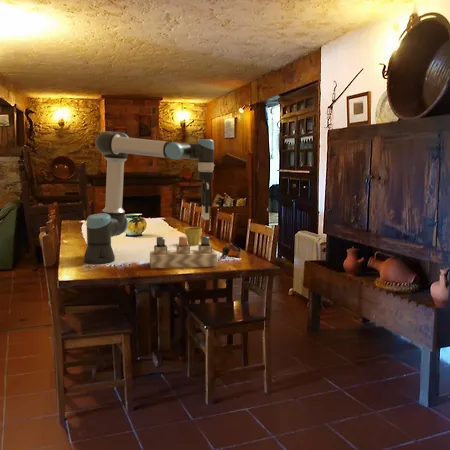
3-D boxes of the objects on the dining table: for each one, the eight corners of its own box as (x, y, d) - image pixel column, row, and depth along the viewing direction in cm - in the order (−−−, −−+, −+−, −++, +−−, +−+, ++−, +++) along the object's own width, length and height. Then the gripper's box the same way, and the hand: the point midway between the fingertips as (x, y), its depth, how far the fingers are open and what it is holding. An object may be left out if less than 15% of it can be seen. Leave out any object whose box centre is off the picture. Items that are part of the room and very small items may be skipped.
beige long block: (151, 268, 237) (150, 248, 236) (149, 262, 249) (149, 243, 248) (216, 266, 244) (217, 247, 242) (212, 260, 255) (213, 242, 254)
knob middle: (179, 246, 243) (179, 237, 242) (178, 245, 246) (178, 236, 246) (187, 246, 243) (187, 237, 243) (186, 245, 247) (186, 236, 247)
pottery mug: (225, 254, 274) (233, 242, 273) (237, 264, 270) (246, 251, 268) (214, 252, 264) (222, 239, 263) (227, 262, 260) (235, 249, 258)
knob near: (156, 247, 240) (156, 238, 240) (156, 245, 244) (156, 236, 244) (165, 247, 241) (165, 238, 241) (164, 245, 245) (164, 236, 244)
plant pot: (182, 245, 296) (182, 229, 295) (187, 242, 306) (187, 226, 305) (199, 246, 294) (199, 229, 292) (204, 243, 304) (204, 227, 302)
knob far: (201, 246, 245) (201, 237, 244) (200, 244, 249) (200, 236, 248) (209, 246, 246) (209, 237, 245) (208, 244, 249) (208, 236, 249)
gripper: (216, 172, 234) (216, 221, 237) (210, 170, 251) (209, 216, 255) (201, 172, 232) (200, 221, 235) (195, 170, 250) (195, 216, 253)
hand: (205, 218), depth 245 cm, fingers open, 5 cm apart
